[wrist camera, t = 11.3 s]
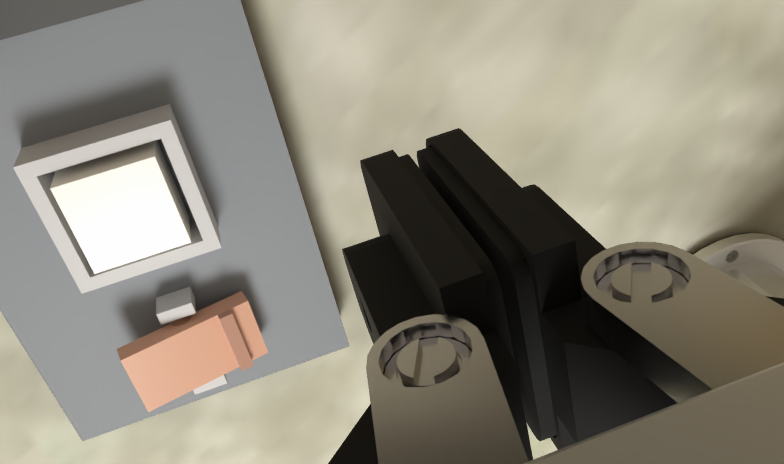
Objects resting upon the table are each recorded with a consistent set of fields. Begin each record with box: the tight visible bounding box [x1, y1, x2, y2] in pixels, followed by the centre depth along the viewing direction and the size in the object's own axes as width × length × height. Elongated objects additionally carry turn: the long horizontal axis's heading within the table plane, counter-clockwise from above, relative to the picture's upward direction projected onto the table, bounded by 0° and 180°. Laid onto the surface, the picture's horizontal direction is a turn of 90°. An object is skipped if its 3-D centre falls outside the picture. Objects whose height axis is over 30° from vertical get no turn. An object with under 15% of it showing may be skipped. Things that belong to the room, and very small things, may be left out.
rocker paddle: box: [117, 291, 268, 412], centre depth 34 cm, size 3×6×2 cm, turn 102°
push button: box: [50, 140, 191, 274], centre depth 30 cm, size 4×4×2 cm
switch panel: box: [0, 0, 349, 441], centre depth 31 cm, size 24×14×4 cm, turn 12°
